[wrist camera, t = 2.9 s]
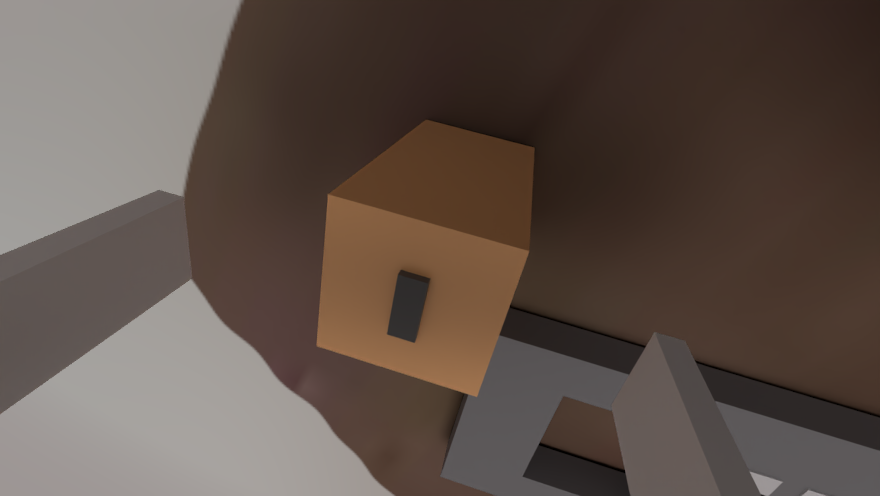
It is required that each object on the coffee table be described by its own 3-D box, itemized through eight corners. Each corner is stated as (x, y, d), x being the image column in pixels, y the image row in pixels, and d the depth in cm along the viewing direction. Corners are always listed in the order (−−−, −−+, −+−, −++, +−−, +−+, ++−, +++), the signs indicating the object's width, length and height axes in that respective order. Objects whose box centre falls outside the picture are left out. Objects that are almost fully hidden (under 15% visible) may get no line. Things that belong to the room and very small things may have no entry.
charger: (426, 119, 19) (323, 197, 10) (534, 147, 18) (529, 256, 9) (408, 217, 21) (312, 351, 12) (503, 244, 21) (475, 403, 12)
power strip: (494, 303, 22) (489, 333, 20) (929, 432, 20) (977, 482, 18) (447, 442, 28) (440, 478, 26) (782, 553, 26) (805, 602, 24)
